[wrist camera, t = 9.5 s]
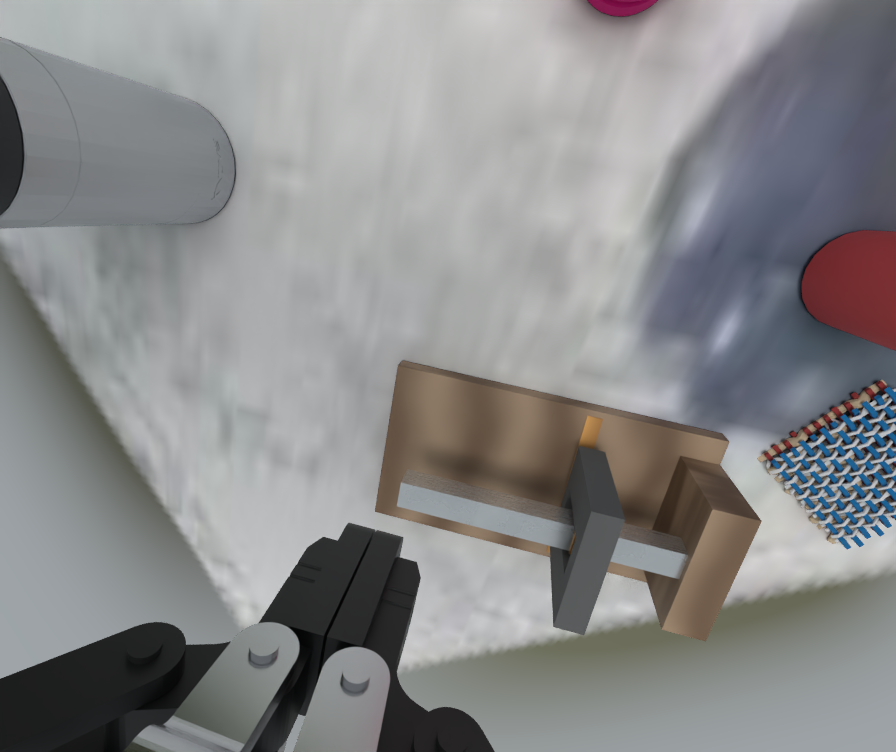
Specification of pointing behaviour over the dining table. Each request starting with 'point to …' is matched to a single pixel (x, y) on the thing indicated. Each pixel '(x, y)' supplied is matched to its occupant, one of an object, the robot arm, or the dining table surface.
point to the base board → (549, 466)
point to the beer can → (855, 285)
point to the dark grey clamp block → (585, 540)
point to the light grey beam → (534, 521)
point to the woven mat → (817, 467)
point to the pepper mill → (621, 6)
